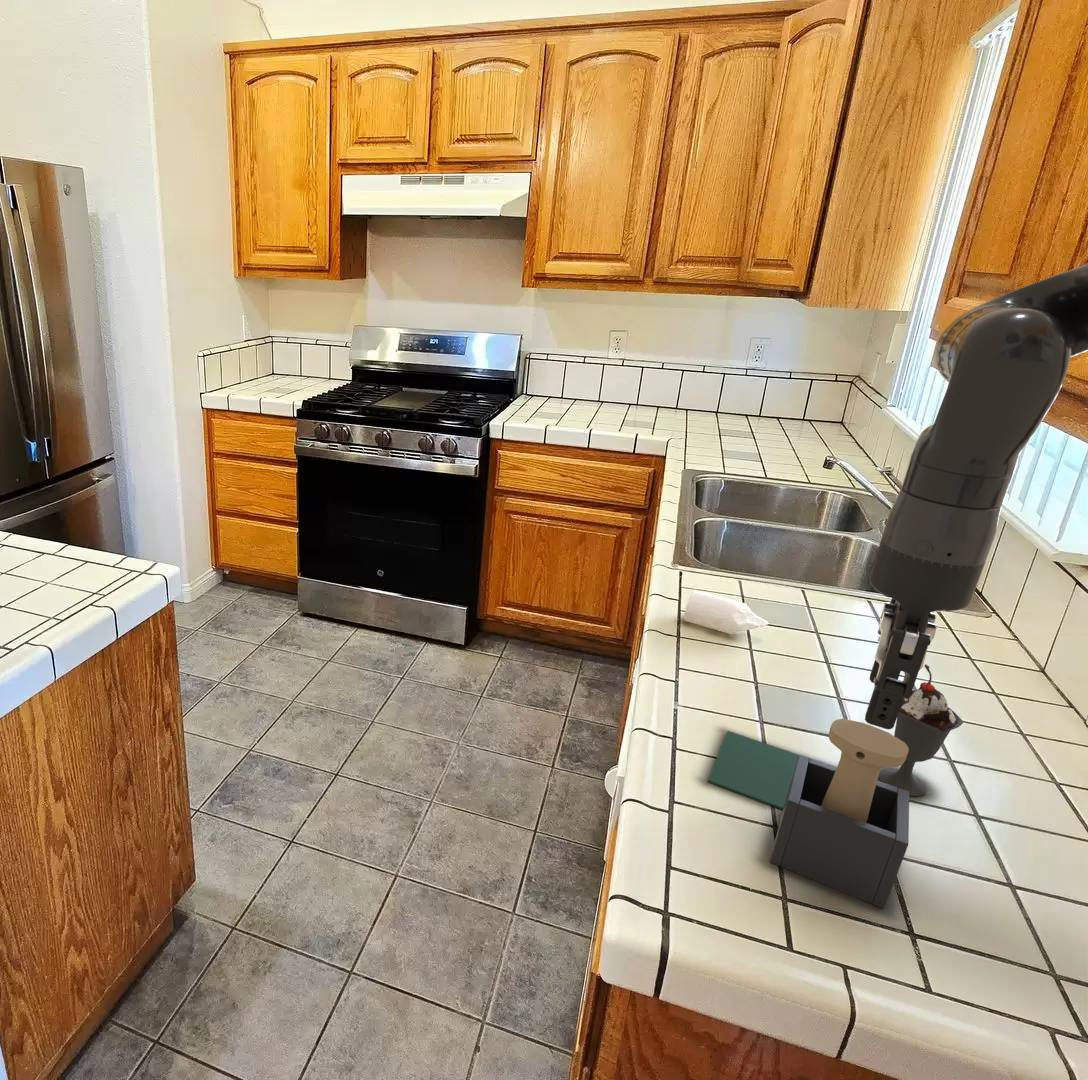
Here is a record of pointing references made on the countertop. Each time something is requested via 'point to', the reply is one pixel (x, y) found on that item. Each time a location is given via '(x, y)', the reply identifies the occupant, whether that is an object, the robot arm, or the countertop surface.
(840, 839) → the grey box
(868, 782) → the handle
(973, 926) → the countertop surface
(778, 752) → the mat
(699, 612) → the white tapered piece
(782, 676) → the countertop surface
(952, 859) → the countertop surface
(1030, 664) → the countertop surface
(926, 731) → the sundae
